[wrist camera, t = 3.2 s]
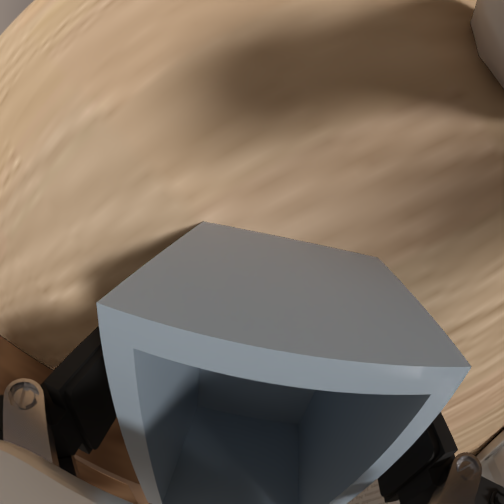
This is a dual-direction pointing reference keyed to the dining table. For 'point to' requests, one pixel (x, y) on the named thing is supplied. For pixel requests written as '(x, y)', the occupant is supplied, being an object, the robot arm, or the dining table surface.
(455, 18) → the dining table surface
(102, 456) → the walnut crate
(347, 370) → the slate crate
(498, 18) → the salt shaker
